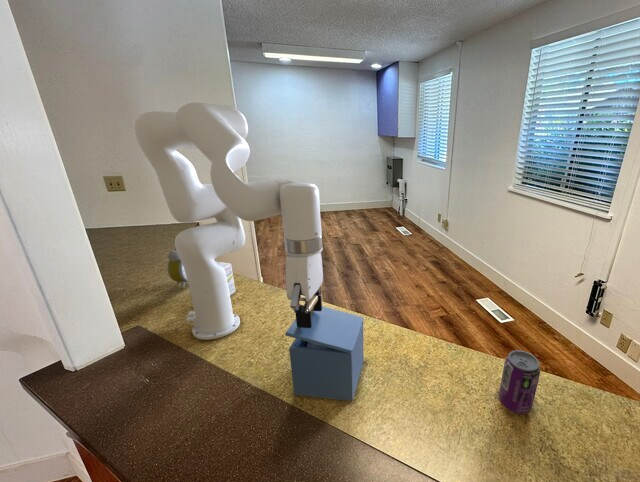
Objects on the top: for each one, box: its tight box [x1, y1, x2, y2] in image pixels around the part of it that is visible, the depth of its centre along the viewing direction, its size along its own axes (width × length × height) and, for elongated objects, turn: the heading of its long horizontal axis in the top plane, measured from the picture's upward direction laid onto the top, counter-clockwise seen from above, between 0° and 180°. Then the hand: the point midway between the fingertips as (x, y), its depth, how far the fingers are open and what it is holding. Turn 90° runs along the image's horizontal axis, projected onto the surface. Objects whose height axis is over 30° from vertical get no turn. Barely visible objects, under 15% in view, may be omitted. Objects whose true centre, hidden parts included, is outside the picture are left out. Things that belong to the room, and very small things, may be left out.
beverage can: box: [498, 349, 541, 415], centre depth 66 cm, size 7×7×12 cm
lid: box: [285, 295, 364, 353], centre depth 68 cm, size 14×13×6 cm
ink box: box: [215, 261, 236, 296], centre depth 108 cm, size 9×8×12 cm
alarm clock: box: [166, 249, 188, 290], centre depth 116 cm, size 12×7×15 cm, turn 179°
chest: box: [288, 320, 365, 402], centre depth 72 cm, size 14×13×13 cm
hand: (310, 317), depth 69 cm, fingers closed on lid, 6 cm apart
